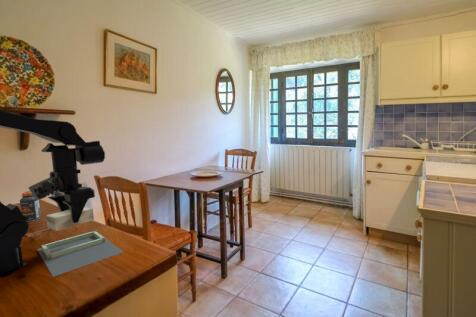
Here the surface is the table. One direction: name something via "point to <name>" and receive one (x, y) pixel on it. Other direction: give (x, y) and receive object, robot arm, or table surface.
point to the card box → (68, 219)
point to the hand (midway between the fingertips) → (71, 220)
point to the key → (36, 233)
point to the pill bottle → (30, 206)
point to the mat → (78, 255)
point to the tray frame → (78, 247)
